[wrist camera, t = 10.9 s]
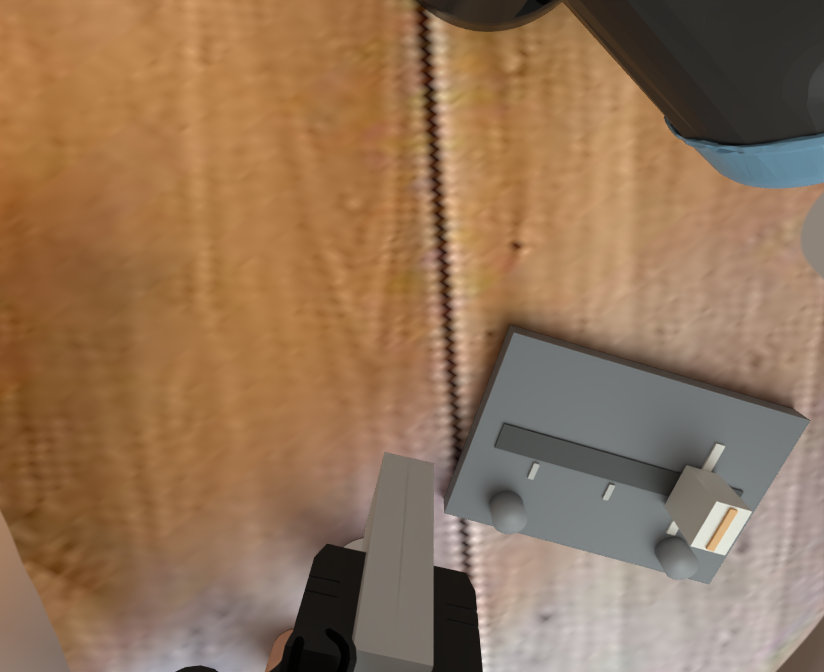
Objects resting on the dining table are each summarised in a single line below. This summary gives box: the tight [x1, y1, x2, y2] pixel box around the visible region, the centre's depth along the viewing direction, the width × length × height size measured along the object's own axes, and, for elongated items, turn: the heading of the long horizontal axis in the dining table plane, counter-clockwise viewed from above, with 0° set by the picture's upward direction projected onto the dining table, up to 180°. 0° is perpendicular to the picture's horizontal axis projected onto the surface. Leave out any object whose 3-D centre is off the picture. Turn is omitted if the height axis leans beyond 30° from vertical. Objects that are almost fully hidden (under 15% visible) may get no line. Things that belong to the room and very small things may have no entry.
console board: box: [444, 325, 810, 584], centre depth 46 cm, size 18×26×4 cm
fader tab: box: [664, 465, 752, 555], centre depth 44 cm, size 4×3×5 cm
